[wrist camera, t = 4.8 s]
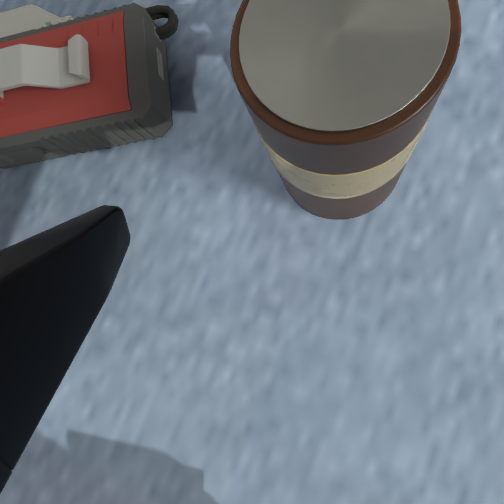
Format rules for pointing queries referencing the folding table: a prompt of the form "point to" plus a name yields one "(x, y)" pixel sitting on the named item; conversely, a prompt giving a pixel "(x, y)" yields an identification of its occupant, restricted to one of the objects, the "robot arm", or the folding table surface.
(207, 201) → the folding table surface
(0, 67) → the walkie-talkie
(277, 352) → the folding table surface
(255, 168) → the folding table surface
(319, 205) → the coffee can
